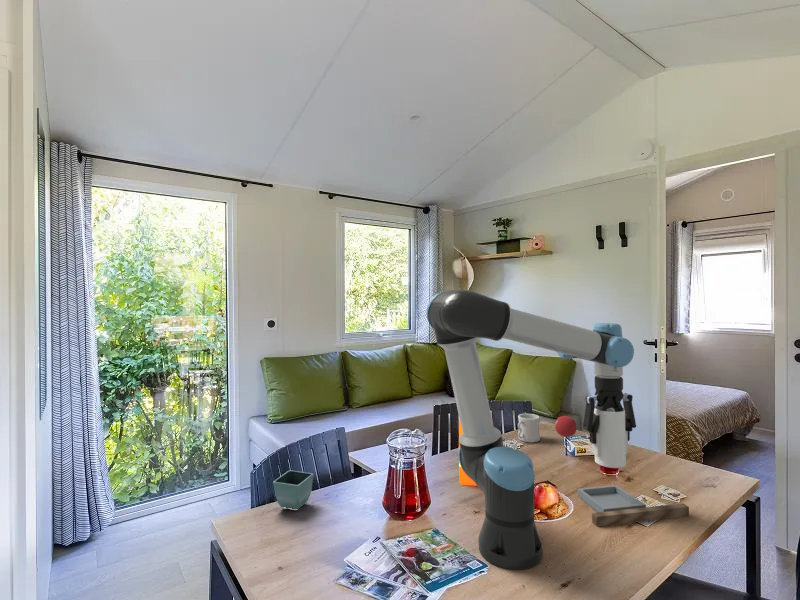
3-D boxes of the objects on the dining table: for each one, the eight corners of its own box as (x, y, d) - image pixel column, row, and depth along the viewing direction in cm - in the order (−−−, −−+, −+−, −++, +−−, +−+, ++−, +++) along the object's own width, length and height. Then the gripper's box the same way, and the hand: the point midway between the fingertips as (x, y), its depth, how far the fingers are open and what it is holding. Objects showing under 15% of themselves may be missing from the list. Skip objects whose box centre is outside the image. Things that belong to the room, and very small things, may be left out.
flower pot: (299, 516, 124) (298, 485, 124) (272, 512, 127) (272, 481, 127) (314, 502, 133) (314, 473, 133) (289, 498, 136) (289, 469, 135)
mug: (525, 434, 192) (525, 412, 191) (544, 439, 185) (544, 416, 184) (509, 441, 184) (508, 417, 183) (527, 446, 177) (527, 422, 177)
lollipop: (562, 450, 172) (561, 412, 172) (580, 455, 166) (580, 416, 166) (551, 455, 167) (551, 416, 167) (570, 460, 161) (569, 420, 161)
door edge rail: (596, 526, 116) (596, 516, 116) (592, 522, 118) (592, 513, 118) (688, 515, 120) (688, 506, 120) (683, 512, 122) (683, 503, 122)
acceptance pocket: (603, 517, 120) (603, 509, 120) (577, 496, 133) (577, 488, 133) (645, 513, 122) (645, 504, 122) (615, 492, 135) (615, 484, 135)
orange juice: (486, 486, 141) (485, 425, 141) (459, 484, 143) (458, 424, 143) (485, 476, 149) (484, 418, 149) (459, 474, 151) (458, 417, 150)
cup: (629, 468, 123) (628, 412, 122) (598, 467, 124) (597, 411, 124) (621, 457, 131) (620, 405, 130) (591, 456, 132) (590, 404, 132)
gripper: (582, 380, 122) (584, 460, 122) (650, 376, 125) (651, 454, 125) (568, 375, 129) (569, 451, 130) (632, 371, 133) (633, 445, 133)
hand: (609, 452), depth 128 cm, fingers closed on cup, 8 cm apart
